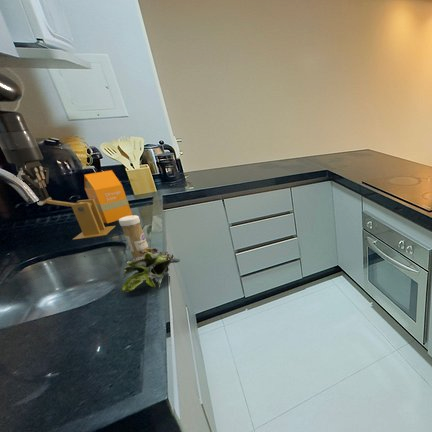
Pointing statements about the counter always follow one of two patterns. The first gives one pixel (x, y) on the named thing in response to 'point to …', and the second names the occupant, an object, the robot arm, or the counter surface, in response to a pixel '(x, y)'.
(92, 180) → the orange juice
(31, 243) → the counter surface
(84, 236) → the wooden slotted stand
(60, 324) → the counter surface
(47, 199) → the lever
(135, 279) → the green leafy plant
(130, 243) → the sprinkles bottle
